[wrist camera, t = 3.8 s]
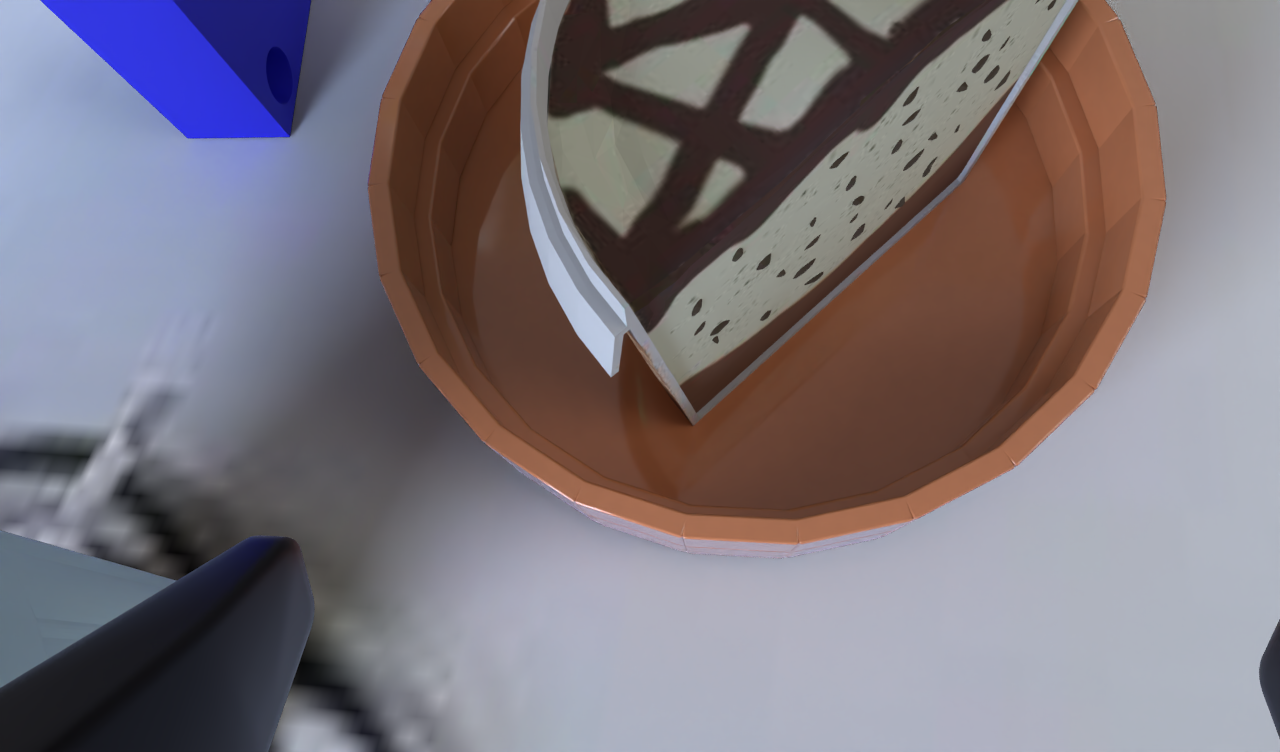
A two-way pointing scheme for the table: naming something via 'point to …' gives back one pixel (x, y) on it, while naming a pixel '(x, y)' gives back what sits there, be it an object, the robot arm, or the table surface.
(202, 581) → the robot arm
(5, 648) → the cup
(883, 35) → the food container
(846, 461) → the basin
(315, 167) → the table surface
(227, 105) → the blue stepped block
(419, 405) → the table surface
